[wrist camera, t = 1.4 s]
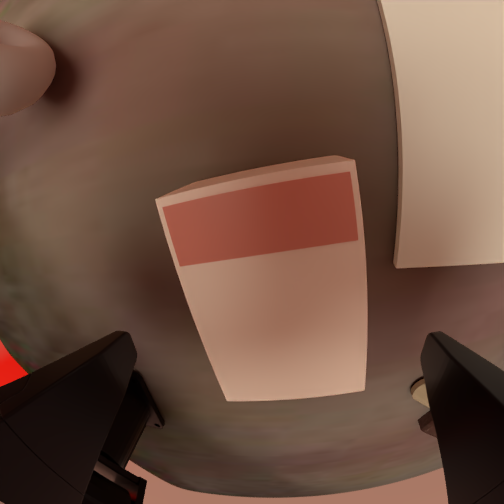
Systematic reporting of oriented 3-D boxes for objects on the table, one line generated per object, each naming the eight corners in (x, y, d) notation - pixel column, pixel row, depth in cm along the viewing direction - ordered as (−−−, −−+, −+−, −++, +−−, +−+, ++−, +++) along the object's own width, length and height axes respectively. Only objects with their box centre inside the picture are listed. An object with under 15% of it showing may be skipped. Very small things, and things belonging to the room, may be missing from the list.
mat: (544, 256, 10) (548, 259, 9) (392, 263, 12) (396, 268, 11) (528, 13, 4) (532, 12, 4) (359, -50, 6) (361, -55, 6)
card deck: (352, 334, 14) (364, 390, 10) (242, 346, 15) (226, 401, 11) (334, 154, 11) (355, 160, 7) (196, 181, 12) (154, 199, 8)
